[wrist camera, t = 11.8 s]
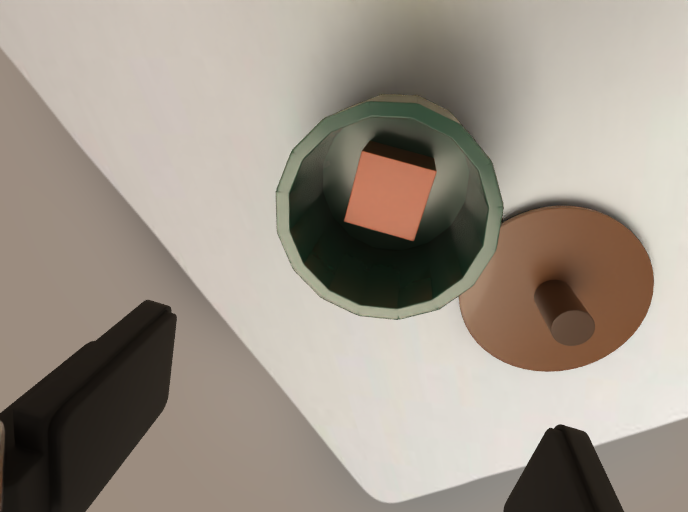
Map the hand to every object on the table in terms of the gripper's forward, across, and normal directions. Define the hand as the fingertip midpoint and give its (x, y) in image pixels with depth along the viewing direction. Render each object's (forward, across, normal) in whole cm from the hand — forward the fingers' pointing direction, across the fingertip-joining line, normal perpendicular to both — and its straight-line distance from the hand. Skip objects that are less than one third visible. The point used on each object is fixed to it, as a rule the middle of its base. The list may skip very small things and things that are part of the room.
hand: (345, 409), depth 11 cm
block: (+26, 0, 0) cm, 26 cm away
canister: (+26, 0, 0) cm, 26 cm away
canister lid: (+26, -14, +5) cm, 30 cm away
